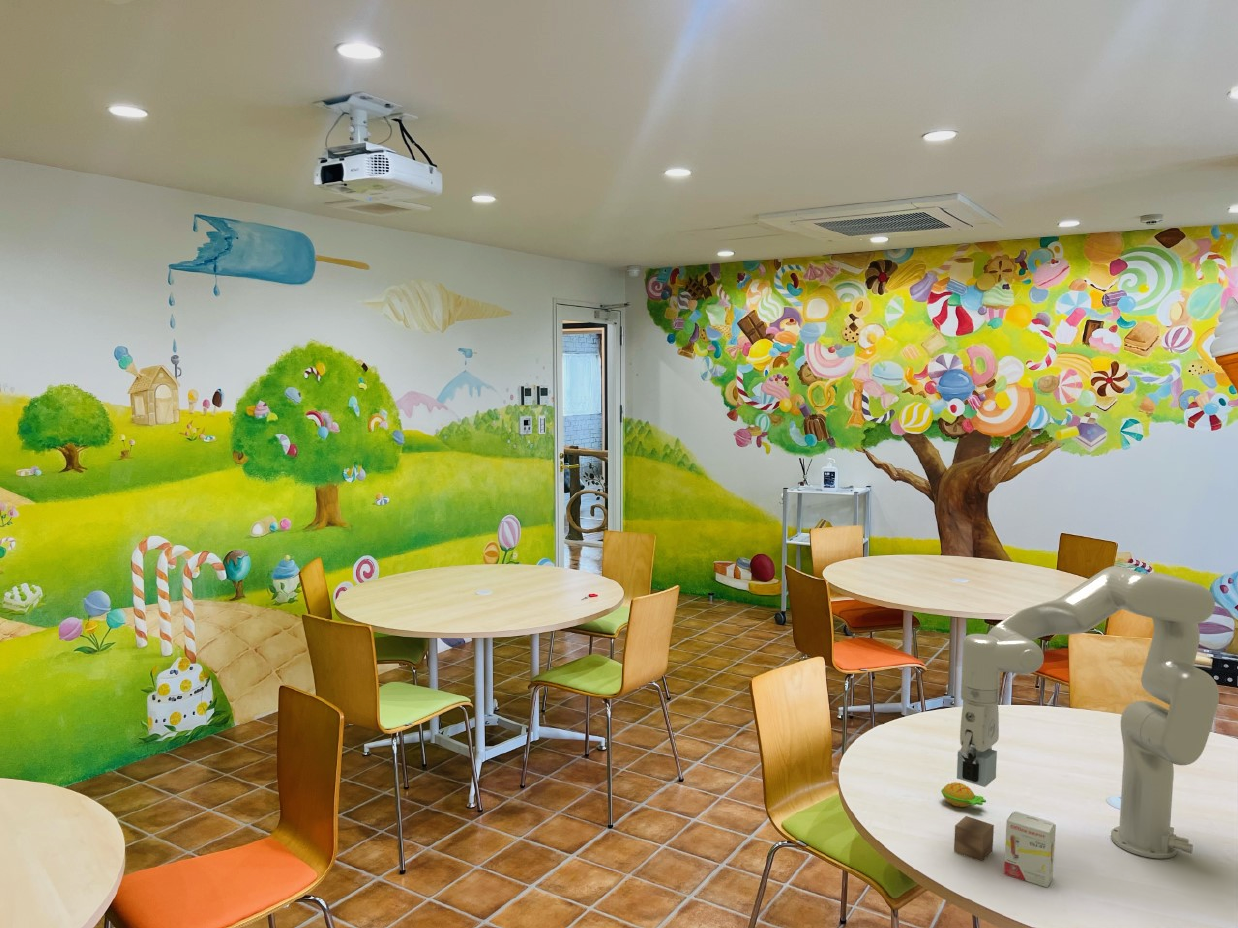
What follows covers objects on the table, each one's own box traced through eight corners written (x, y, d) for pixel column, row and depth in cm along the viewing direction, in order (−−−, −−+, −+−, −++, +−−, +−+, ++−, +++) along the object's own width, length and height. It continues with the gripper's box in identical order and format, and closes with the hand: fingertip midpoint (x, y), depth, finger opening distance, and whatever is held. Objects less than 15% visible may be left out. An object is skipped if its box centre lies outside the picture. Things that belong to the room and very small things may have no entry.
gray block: (995, 778, 191) (996, 750, 191) (985, 786, 187) (986, 759, 186) (967, 769, 195) (969, 743, 195) (956, 778, 191) (957, 751, 190)
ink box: (1002, 873, 184) (1005, 818, 183) (1009, 864, 187) (1011, 809, 186) (1047, 888, 178) (1050, 831, 177) (1053, 878, 182) (1056, 822, 181)
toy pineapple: (947, 795, 219) (948, 774, 219) (989, 808, 212) (990, 786, 212) (936, 804, 214) (937, 783, 214) (978, 818, 207) (979, 796, 207)
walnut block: (992, 851, 193) (993, 824, 192) (981, 862, 188) (983, 834, 188) (964, 841, 197) (966, 815, 196) (953, 851, 192) (955, 825, 192)
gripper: (981, 707, 181) (978, 793, 182) (1012, 687, 193) (1009, 767, 195) (945, 699, 186) (942, 782, 187) (978, 679, 198) (974, 758, 200)
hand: (976, 774), depth 191 cm, fingers closed on gray block, 6 cm apart
